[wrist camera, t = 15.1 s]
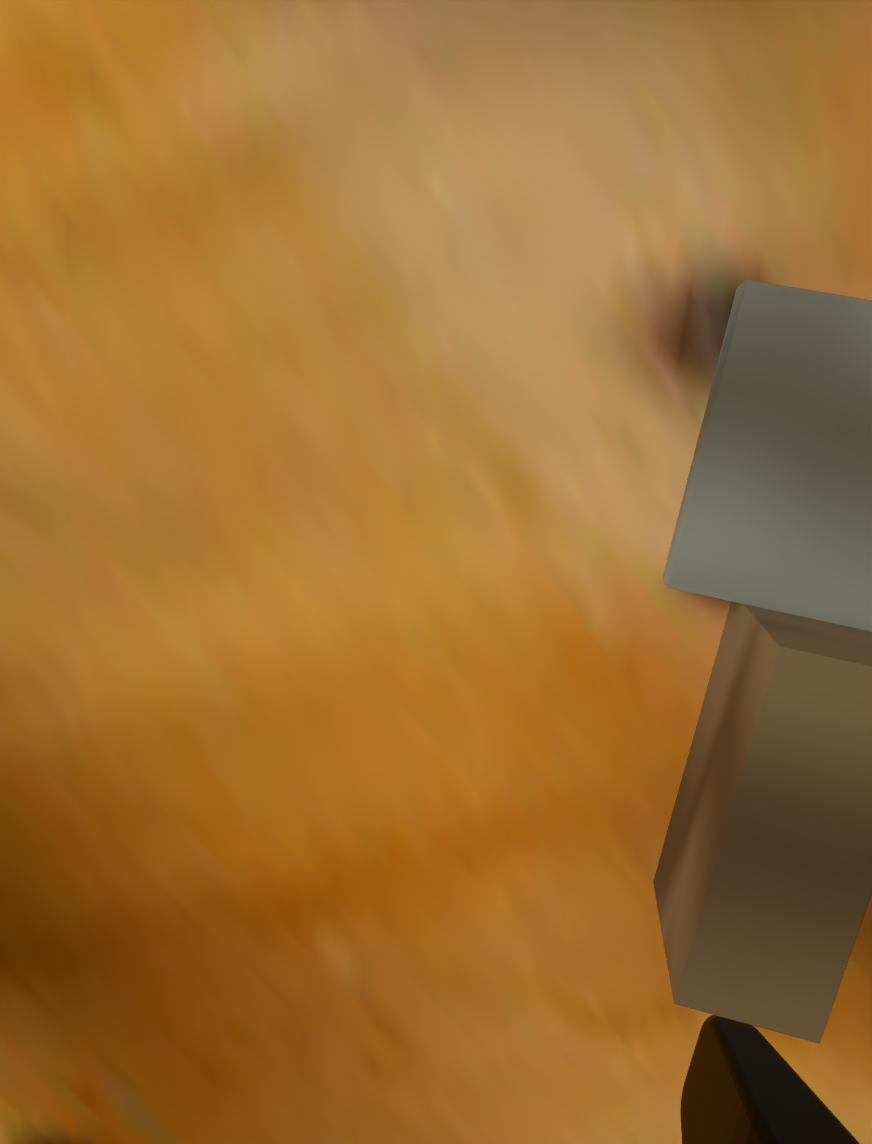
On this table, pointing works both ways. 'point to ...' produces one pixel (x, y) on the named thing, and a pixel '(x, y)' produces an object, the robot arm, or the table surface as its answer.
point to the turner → (777, 669)
